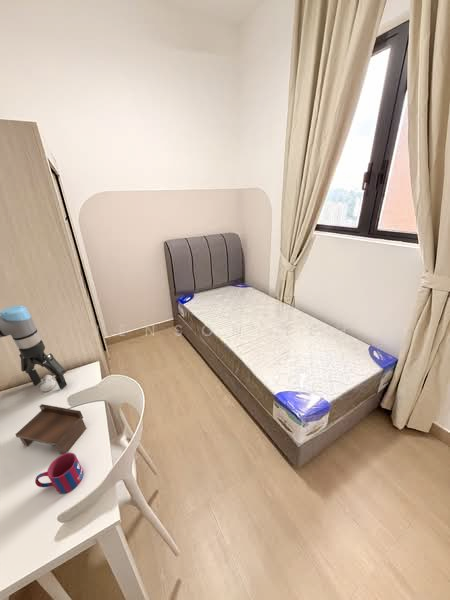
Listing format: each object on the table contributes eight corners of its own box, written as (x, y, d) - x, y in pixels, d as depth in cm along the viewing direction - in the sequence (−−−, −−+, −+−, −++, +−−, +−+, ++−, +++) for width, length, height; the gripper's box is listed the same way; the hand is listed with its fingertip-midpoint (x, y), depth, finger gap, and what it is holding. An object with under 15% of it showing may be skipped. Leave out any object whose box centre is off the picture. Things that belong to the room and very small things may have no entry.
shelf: (22, 447, 76) (12, 430, 73) (50, 420, 85) (41, 404, 82) (63, 456, 73) (54, 439, 69) (87, 427, 81) (80, 410, 78)
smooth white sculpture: (54, 393, 99) (39, 394, 96) (57, 380, 105) (43, 381, 103) (54, 384, 97) (39, 386, 95) (57, 372, 104) (43, 373, 101)
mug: (80, 488, 64) (72, 473, 61) (38, 502, 62) (27, 487, 59) (85, 464, 70) (78, 449, 67) (47, 476, 68) (38, 461, 65)
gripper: (64, 340, 92) (81, 382, 101) (15, 336, 98) (35, 375, 107) (47, 352, 86) (67, 395, 94) (-5, 347, 91) (19, 388, 100)
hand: (50, 385), depth 101 cm, fingers open, 13 cm apart
